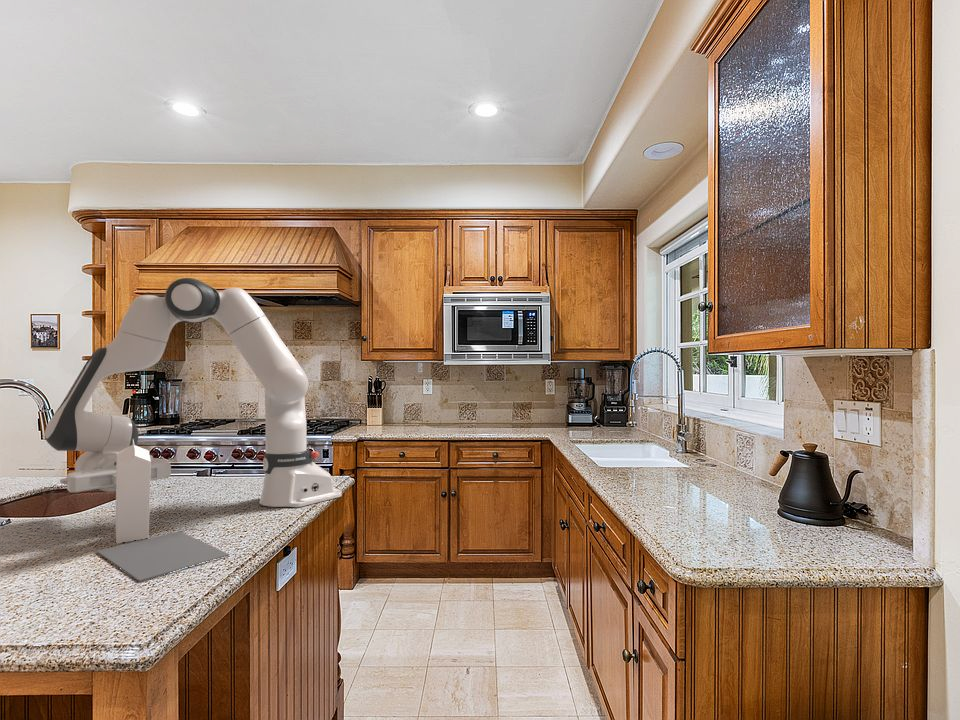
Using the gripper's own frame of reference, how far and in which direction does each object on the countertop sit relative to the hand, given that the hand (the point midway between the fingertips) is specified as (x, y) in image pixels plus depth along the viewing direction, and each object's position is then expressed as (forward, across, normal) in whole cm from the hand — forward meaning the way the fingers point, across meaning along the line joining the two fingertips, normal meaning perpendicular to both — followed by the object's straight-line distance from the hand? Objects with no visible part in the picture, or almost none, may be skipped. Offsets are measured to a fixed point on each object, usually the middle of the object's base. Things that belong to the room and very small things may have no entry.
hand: (132, 480), depth 116 cm
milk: (0, 0, +12) cm, 12 cm away
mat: (+17, 0, +13) cm, 21 cm away
